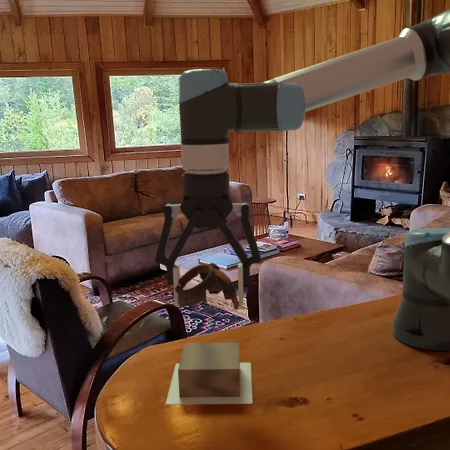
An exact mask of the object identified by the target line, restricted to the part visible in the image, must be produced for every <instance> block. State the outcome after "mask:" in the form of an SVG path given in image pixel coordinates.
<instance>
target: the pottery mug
mask: <svg viewBox="0 0 450 450" xmlns="http://www.w3.org/2000/svg"><path fill="white" fill-rule="evenodd" d="M198 276H199V277H200V280H202V281H201V282H199V283H198V284H197V285H195V286H193V287H191V288H187V289H184V288H185V287H186V286H187V284H188V283H189V282H191V281H192V280H193V279H195V278H197V277H198ZM178 283H179V284H180V286H179V285H177V286H176V288H175V291H176V292H177V293H178V304H179V306H180V307H181V308H184V307H188V306H191V305H195V304H197V303H204V304H208V301H207V292H208V294H209V295H219V294H220V293H221V292H222V293H223V296H224V297H223V298H224V300H225V301H227V300H230V301H231V302H232V304H233V307H234V308H233V309H234V310H235V311H238V309H239V307H240V305H239V297H238V295H237V292H236V289H235V285H234V283H233V282H232V280H231V278H230V277H229V276H228V275H227V274H226V273H225V272H224V271H222V270H221V269H220V267H219V266H218V265H217V263H214V262H210V263H200V264H197V265H195V266H194V267H191V268H190V269H189V270H188V271H186V272H185V273H184V274H183V275H181V276H180V279H179V280H178Z"/></svg>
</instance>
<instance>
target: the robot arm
mask: <svg viewBox="0 0 450 450" xmlns="http://www.w3.org/2000/svg"><path fill="white" fill-rule="evenodd" d="M447 74H450V8H448V9H446V10H445V11H442V12H440V13H438V14H436V15H435V16H433V17H431V18H429V19H426V20H424V21H421V22H419V23H417V24H415V25H413V26H410V27H407V28H404V29H402V30H401V31H400V33H399V35H398V36H397V37H394V38H392V39H388V40H386V41H382V42H379V43H376V44H373V45H371V46H367V47H365V48H361V49H357V50H355V51H351V52H349V53H346V54H343V55H340V56H336V57H334V58H330V59H328V60H325V61H323V62H319V63H317V64H316V63H315V64H313V65H310V66H307V67H304V68H301V69H298V70H295V71H292V72H289V73H287V74H283V75H281V76H280V75H279V76H276V77H274V78H271V79H269V80H265V81H262V82H252V83H251V82H248V83H238V82H235V83H234V82H229V79H228V73H227V72H226V71H225V70H224V69H217V68H214V69H212V68H210V69H209V68H207V69H206V68H203V69H201V68H199V69H189V70H185V71H184V72H183V73H181V75H180V76H179V79H178V80H179V81H178V82H179V87H178V91H179V93H178V96H179V99H178V109H179V125H180V127H179V128H180V152H181V153H180V157H181V168H182V170H185V171H184V172H183V173H182V175H181V180H182V183H181V184H182V201H181V203H178V204H172V203H166V205H164V207H163V215H164V217H163V218H164V222H163V226H162V230H161V233H160V238H159V241H158V245H157V249H156V253H155V258H154V263H155V264H157V265H162V266H164V267H165V268H166V284H167V285H168V286H170V287H171V286H173V296H174V297H173V301H174V307H179V306H180V305H179V304H178V293H177V292H176V291H175V288H176V286H177V285H179V286H180V284H179V283H178V280H179V279H180V278H181V271H180V270H181V267H180V263H176V262H177V259H178V257H179V255H180V253H181V252H182V250H183V248H184V247H185V245H186V243H187V241H188V240H189V237H190V236H191V234H192V232H193V230H194V228H196V229H197V230H203V229H206V228H207V229H210V230H214V229H215V230H217V228H219V229H220V231H221V233H222V234H223V235H224V236H225V238H226V240H227V242H228V243H229V245H230V247H231V248H232V250H233V251H234V253H235V255H236V256H237V258H238V260H239V261H240V262H238V264H237V268H238V269H237V275H238V284H237V285H238V301H239V306H244V286H245V285H247V286H248V285H250V283H251V272H250V271H251V269H250V268H251V266H252V265H254V264H257V263H258V264H259V263H261V260H262V258H261V253H260V250H259V246H258V244H257V240H256V237H255V233H254V230H253V228H252V224H251V220H250V217H249V214H250V207H249V206H250V205H249V203H248V202H246V201H243V202H242V203H238V202H237V203H236V202H232V199H231V196H230V195H231V194H230V173H229V172H228V171H227V170H226V169H228V168H229V166H230V160H229V159H230V156H229V155H230V153H229V152H230V151H229V147H230V145H229V144H230V143H229V133H238V132H280V133H282V132H287V131H297V130H299V129H300V128H302V127H301V126H302V125H303V123H304V120H305V117H306V112H309V111H312V110H315V109H318V108H321V107H324V106H327V105H329V104H333V103H335V102H339V101H341V100H345V99H348V98H351V97H354V96H357V95H360V94H363V93H366V92H369V91H372V90H375V89H379V88H382V87H384V86H387V85H391V84H393V83H396V82H399V81H402V80H405V79H406V80H407V79H410V80H412V81H419V80H422V79H425V78H429V77H435V76H438V75H447ZM232 211H234V212H235V215H236V216H237V217H238V218H240V221H241V224H242V227H243V231H244V234H245V238H246V241H247V244H248V248H249V250H250V253H251V254H249V255H248V253H247V251H246V250H245V249H244V247H243V245H242V244H241V241H240V240H239V238H238V237H237V236H236V234H235V232H234V230H233V229H232V227H231V226H230V223H229V222H228V220H227V218H228V216H229V215H230V214H231V212H232ZM179 212H181V213H182V214H183V216H184V217H185V218H186V219H187V220H188V222H187V223H186V225H185V227H184V229H183V231H182V233H181V235H180V236H179V239H178V240H177V242H176V243H175V245H174V247H173V249H172V251H171V253H170V254H169V256H168V255H166V252H167V248H168V243H169V239H170V235H171V231H172V227H173V224H174V219H175V218H176V219H177V216H178V214H179ZM404 239H405V240H404V245H403V268H402V269H403V270H402V271H403V272H402V295H401V301H400V303H399V304H398V305H399V306H398V307H397V310H396V312H395V315H394V318H393V320H392V323H391V324H392V326H391V327H392V328H391V333H392V336H393V337H394V338H395V339H396V340H398V341H399V342H401V343H403V344H405V345H408V346H410V347H413V348H417V349H421V350H426V351H435V352H447V351H448V352H449V351H450V228H449V227H426V228H416V229H411V230H409V231H408V232H406V234H405V238H404Z"/></svg>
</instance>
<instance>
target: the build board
mask: <svg viewBox="0 0 450 450" xmlns="http://www.w3.org/2000/svg"><path fill="white" fill-rule="evenodd" d="M179 363H180V362H179ZM179 363H175V366H174V368H173V369H174V370H173V374H172V378H171V381H170V385H169V389H168V393H167V398H166V401H165V405H235V404H236V405H243V404H245V405H246V404H248V405H249V404H253V389H252V388H253V385H252V364H251V362H240V397H179V380H178V368H179Z"/></svg>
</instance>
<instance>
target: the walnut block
mask: <svg viewBox="0 0 450 450" xmlns="http://www.w3.org/2000/svg"><path fill="white" fill-rule="evenodd" d="M240 350H241V349H240V342H185V343H183V348H182V352H181V356H180V360H179V368H178V380H179V397H240V363H241V359H240V358H241V357H240V356H241V354H240Z"/></svg>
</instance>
